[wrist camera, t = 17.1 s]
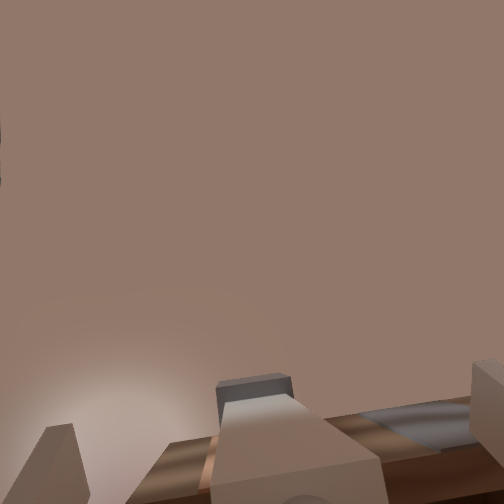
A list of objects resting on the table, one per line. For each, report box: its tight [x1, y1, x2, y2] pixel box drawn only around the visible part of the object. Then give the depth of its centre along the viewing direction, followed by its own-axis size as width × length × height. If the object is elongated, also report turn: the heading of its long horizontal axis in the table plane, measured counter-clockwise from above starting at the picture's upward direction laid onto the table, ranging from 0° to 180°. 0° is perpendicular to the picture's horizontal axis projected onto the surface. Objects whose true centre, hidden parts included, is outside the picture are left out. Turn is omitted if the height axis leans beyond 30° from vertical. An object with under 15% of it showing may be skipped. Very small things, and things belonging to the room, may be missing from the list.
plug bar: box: [210, 373, 389, 504], centre depth 19 cm, size 26×5×4 cm, turn 3°
